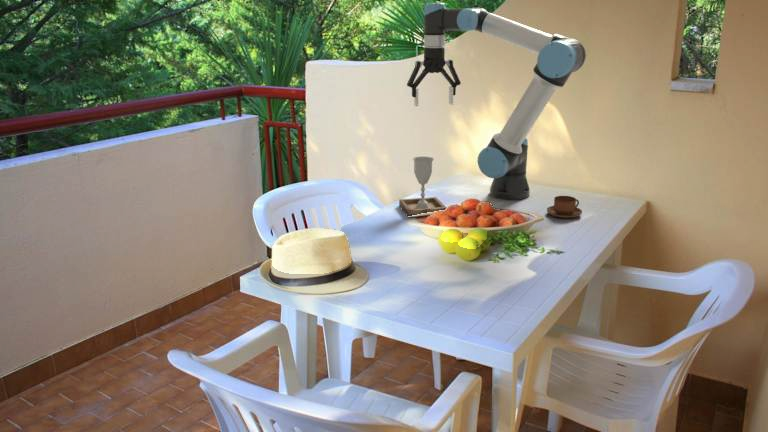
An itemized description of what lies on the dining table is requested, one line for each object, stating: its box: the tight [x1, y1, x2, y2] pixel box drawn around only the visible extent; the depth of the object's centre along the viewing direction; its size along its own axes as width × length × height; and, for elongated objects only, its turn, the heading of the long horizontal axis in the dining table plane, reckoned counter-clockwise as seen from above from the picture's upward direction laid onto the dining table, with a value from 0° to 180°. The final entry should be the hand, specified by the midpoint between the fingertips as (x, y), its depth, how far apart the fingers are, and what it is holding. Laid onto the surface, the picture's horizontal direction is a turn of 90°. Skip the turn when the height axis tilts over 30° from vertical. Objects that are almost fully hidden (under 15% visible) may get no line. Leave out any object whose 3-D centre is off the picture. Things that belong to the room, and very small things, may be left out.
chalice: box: [412, 156, 434, 209], centre depth 246 cm, size 7×7×18 cm
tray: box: [398, 196, 448, 217], centre depth 248 cm, size 14×14×2 cm
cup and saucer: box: [546, 195, 583, 219], centre depth 241 cm, size 12×12×6 cm
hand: (433, 105), depth 259 cm, fingers open, 13 cm apart
